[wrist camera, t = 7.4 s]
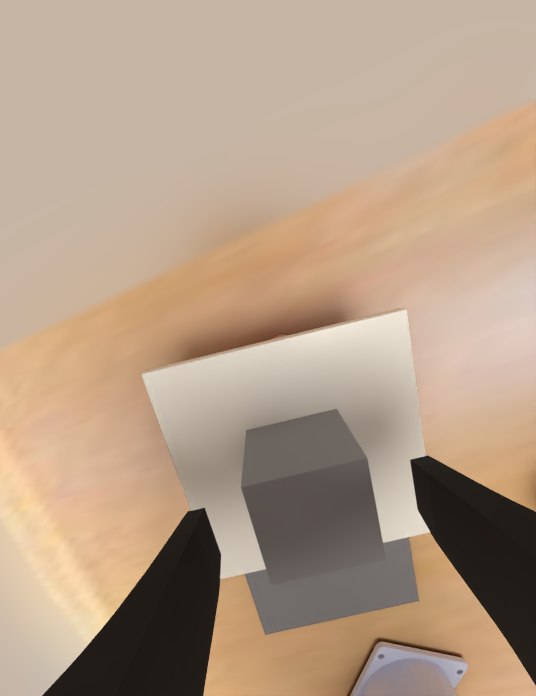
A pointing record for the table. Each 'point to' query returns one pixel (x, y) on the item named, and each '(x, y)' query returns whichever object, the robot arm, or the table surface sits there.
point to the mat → (336, 591)
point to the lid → (299, 445)
